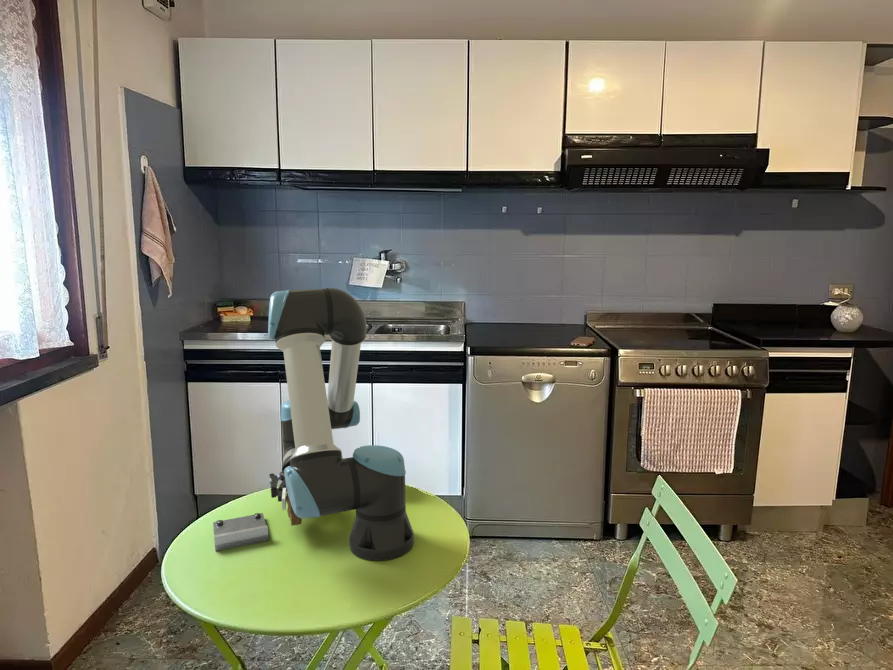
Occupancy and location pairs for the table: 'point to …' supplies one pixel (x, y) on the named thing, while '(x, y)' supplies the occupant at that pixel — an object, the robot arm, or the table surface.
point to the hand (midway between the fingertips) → (294, 503)
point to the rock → (292, 514)
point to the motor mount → (240, 531)
